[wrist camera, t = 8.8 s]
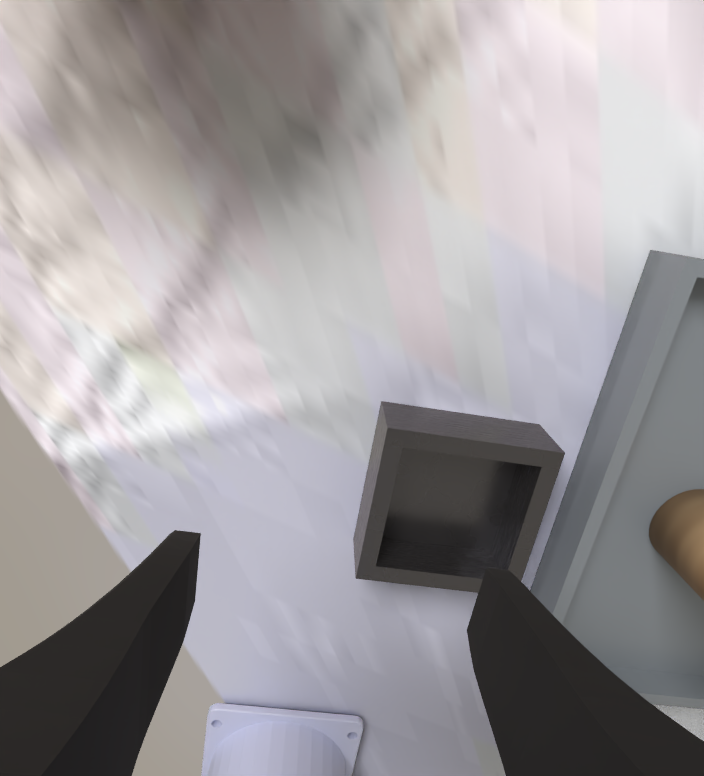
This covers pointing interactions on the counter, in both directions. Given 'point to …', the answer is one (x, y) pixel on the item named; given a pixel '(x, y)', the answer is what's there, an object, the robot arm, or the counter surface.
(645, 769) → the robot arm
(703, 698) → the slate tray
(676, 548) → the oak dowel
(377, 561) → the pin holder
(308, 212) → the counter surface
